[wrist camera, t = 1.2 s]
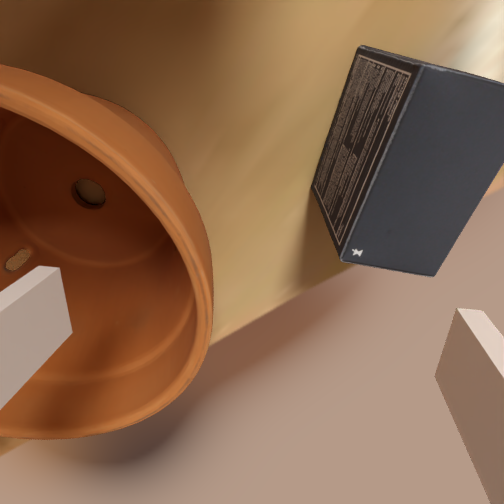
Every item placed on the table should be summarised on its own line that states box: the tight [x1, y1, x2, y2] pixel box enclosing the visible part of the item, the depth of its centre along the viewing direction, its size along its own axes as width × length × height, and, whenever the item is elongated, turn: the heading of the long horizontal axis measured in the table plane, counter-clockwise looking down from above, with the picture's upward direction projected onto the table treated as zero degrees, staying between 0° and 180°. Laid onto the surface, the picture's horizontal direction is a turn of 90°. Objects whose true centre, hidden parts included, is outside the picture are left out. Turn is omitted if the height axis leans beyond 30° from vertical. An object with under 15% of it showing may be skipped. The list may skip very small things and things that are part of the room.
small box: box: [311, 45, 504, 277], centre depth 23 cm, size 11×6×10 cm, turn 167°
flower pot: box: [0, 64, 214, 440], centre depth 23 cm, size 21×21×15 cm
